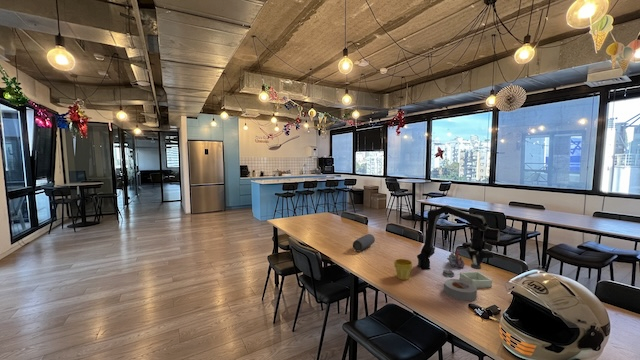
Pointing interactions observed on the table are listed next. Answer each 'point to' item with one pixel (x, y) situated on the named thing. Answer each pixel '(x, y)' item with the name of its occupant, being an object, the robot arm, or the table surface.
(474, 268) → the brass cabinet knob
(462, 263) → the carburetor
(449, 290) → the tape roll
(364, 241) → the bluetooth speaker
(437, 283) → the table surface
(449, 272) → the disc with square block
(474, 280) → the bin
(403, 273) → the plant pot
